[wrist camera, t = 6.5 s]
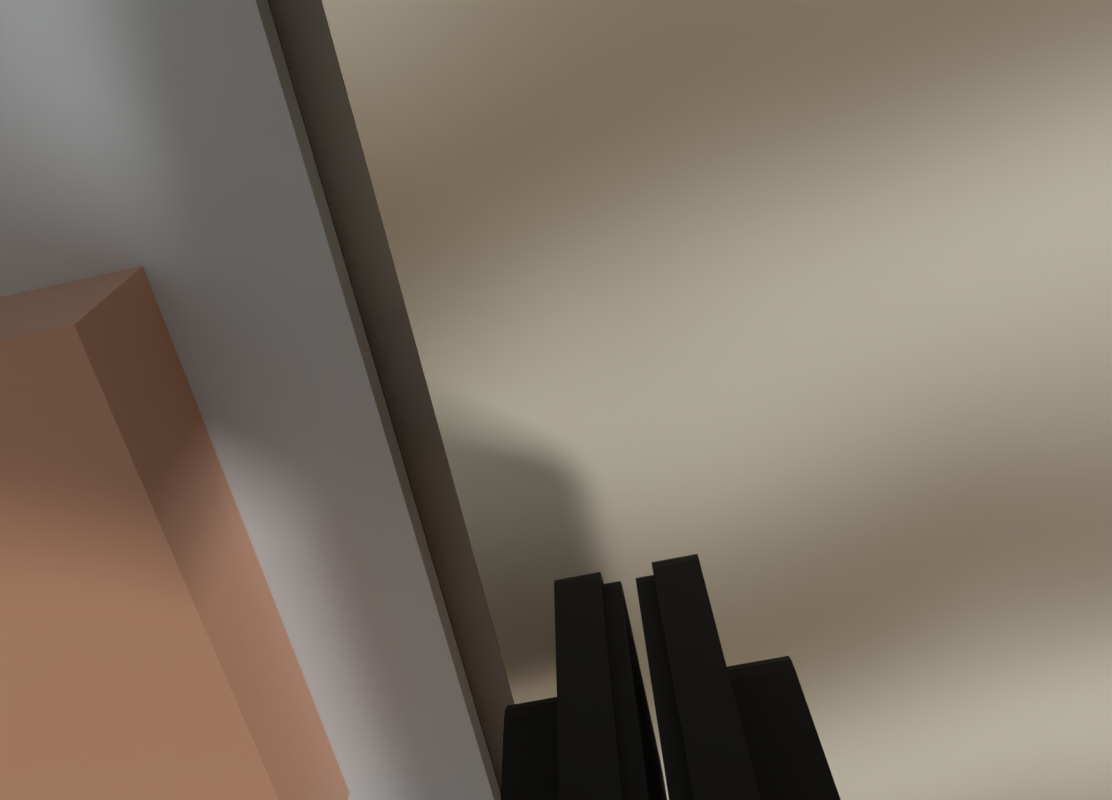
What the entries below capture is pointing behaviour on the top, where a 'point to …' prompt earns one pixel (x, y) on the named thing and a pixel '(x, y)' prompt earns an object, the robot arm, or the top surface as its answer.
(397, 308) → the top surface
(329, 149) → the top surface
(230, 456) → the mat
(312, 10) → the top surface
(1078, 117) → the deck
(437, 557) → the top surface
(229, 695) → the tile
